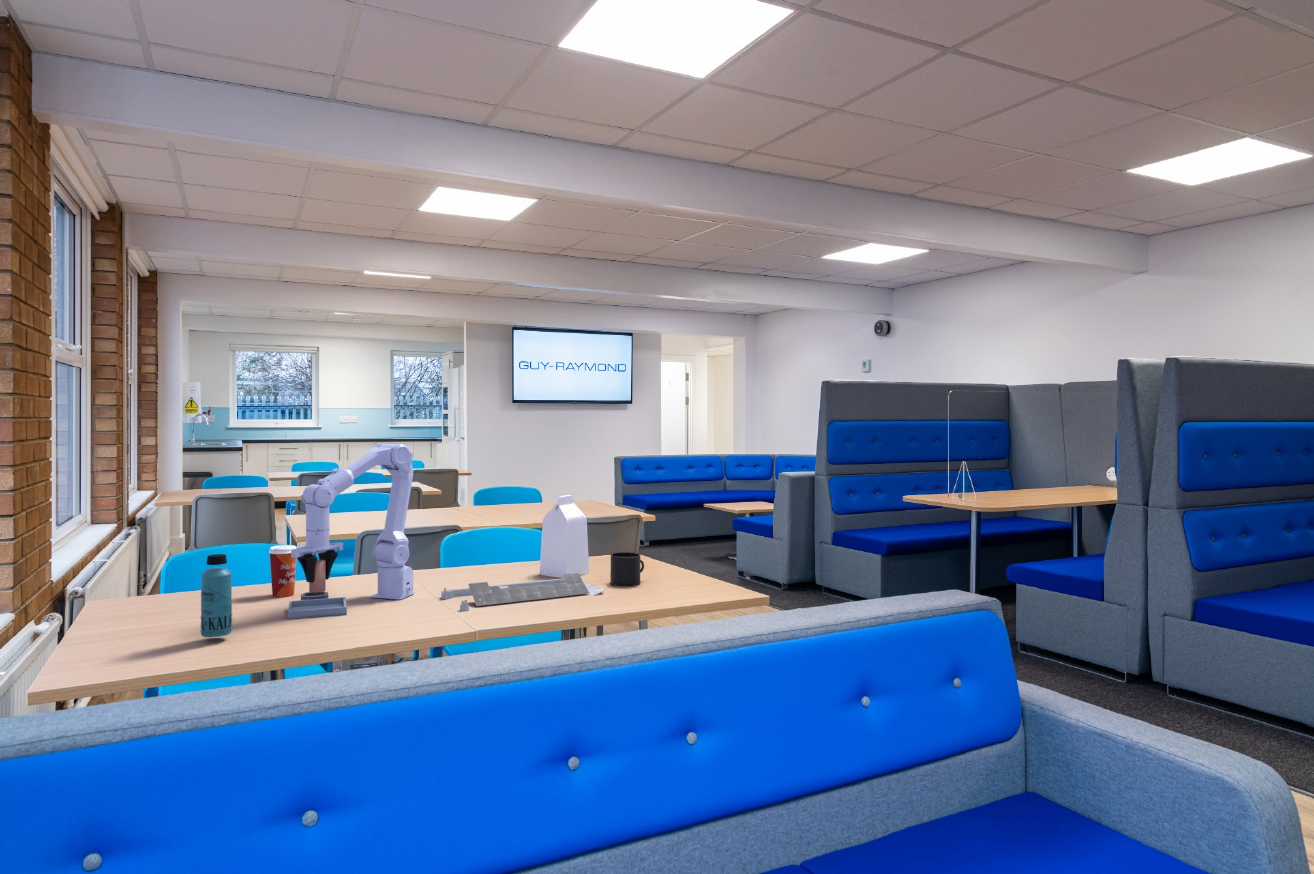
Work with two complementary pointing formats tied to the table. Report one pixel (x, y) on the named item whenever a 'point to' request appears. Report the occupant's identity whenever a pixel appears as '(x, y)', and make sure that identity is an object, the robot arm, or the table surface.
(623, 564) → the mug
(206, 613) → the beverage bottle
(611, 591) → the table surface
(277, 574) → the paper cup
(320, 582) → the peg
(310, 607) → the tray
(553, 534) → the milk
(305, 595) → the sleeve
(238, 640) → the table surface
